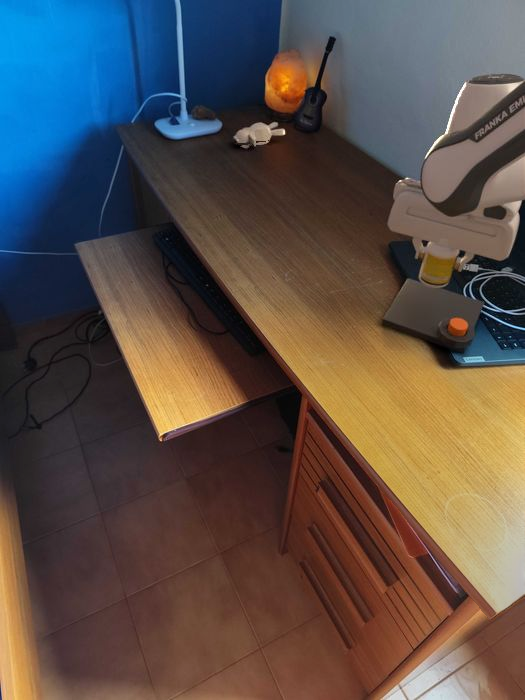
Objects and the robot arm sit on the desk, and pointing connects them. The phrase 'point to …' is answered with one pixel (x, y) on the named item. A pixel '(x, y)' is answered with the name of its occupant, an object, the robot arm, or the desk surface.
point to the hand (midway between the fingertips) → (438, 263)
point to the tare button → (457, 327)
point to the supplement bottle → (438, 264)
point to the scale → (433, 314)
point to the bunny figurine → (257, 134)
